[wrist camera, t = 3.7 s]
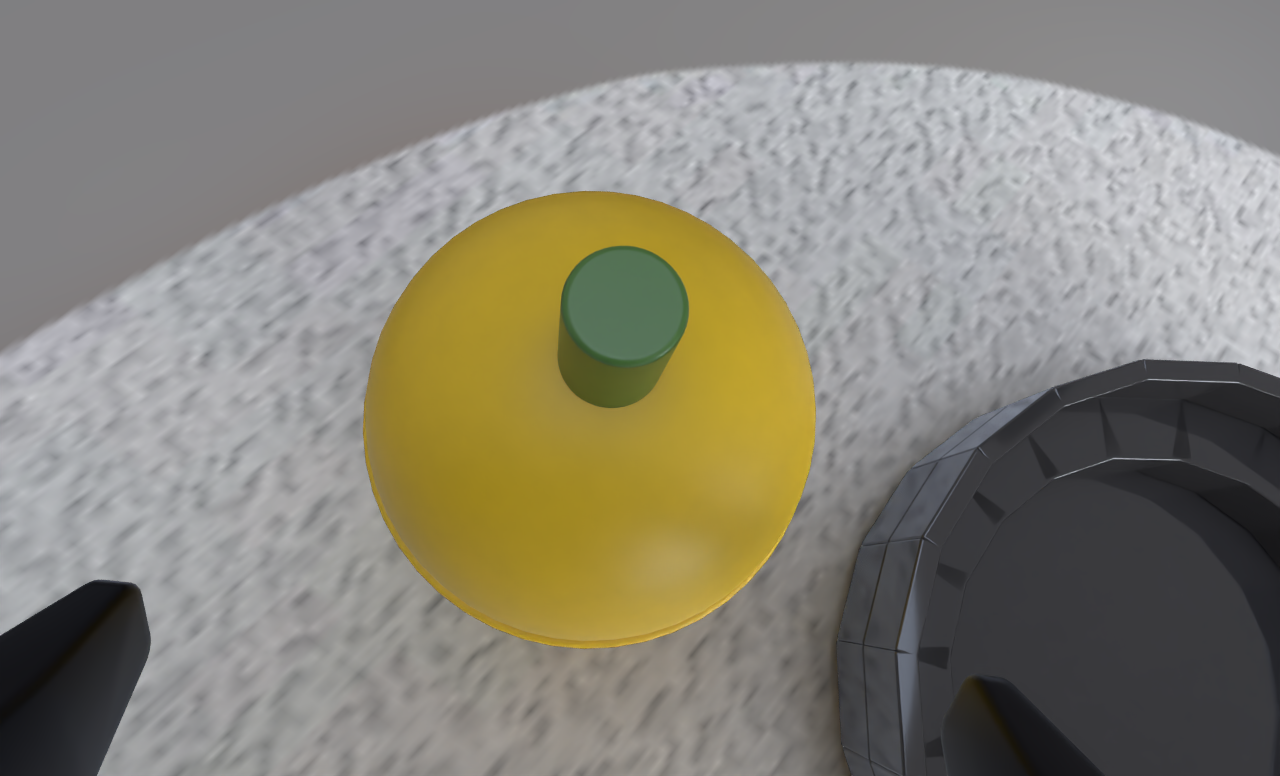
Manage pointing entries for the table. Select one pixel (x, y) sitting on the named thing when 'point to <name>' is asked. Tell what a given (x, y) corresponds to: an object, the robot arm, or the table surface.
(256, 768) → the table surface
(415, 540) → the pepper
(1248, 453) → the dark grey frying pan
